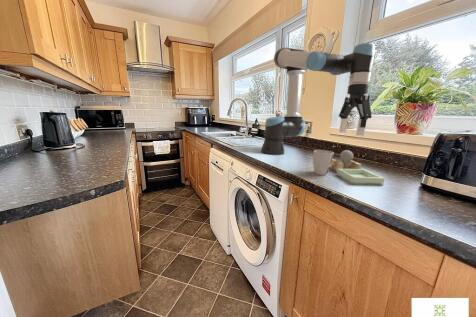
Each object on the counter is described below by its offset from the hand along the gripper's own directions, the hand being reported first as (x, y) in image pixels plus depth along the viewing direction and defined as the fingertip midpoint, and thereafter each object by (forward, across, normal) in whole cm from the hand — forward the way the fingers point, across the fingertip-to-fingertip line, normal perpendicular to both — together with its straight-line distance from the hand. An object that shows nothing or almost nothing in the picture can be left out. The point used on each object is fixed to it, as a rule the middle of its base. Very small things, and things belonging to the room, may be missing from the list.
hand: (350, 133), depth 89 cm
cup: (+18, +5, -14) cm, 23 cm away
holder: (+18, 0, 0) cm, 18 cm away
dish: (+18, +12, -1) cm, 22 cm away
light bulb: (+18, 0, 0) cm, 18 cm away
